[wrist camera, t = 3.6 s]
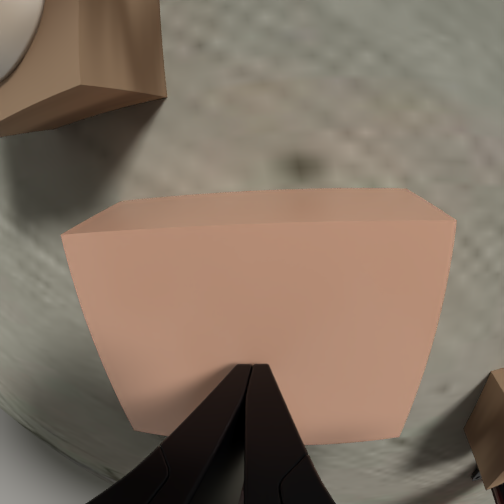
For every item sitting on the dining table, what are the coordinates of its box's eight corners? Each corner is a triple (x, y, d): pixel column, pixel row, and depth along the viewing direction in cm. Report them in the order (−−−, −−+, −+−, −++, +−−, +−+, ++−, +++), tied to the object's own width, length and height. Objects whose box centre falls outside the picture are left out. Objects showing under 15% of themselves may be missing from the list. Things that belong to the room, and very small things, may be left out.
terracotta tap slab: (380, 367, 13) (399, 436, 9) (163, 367, 14) (133, 430, 11) (403, 186, 10) (456, 220, 6) (124, 199, 11) (60, 234, 8)
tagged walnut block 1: (167, 97, 10) (74, 84, 5) (55, 128, 10) (-48, 147, 5) (159, -25, 8) (84, -90, 3) (50, 20, 8) (-42, 0, 4)
